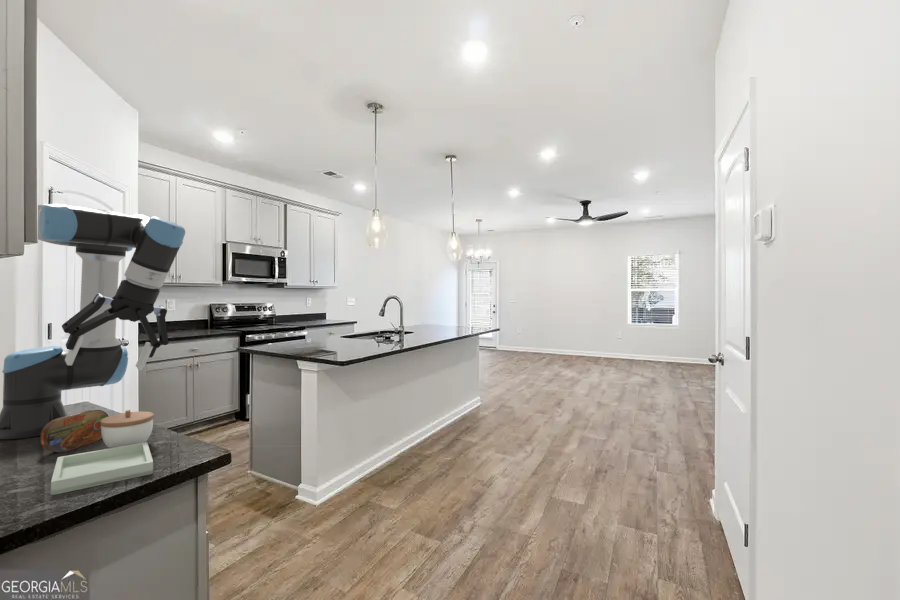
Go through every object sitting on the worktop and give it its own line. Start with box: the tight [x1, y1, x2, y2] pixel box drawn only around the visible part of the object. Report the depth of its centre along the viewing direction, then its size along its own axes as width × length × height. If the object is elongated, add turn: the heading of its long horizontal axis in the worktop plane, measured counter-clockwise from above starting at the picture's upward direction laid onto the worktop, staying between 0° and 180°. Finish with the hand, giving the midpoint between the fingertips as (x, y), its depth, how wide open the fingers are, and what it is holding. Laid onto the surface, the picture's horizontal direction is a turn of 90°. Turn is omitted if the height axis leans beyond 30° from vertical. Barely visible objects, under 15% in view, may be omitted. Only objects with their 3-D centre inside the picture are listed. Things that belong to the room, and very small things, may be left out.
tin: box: [39, 409, 109, 453], centre depth 106 cm, size 15×3×8 cm, turn 168°
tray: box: [50, 441, 154, 496], centre depth 90 cm, size 16×16×3 cm
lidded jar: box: [100, 409, 155, 449], centre depth 105 cm, size 11×11×9 cm
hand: (105, 365), depth 96 cm, fingers open, 13 cm apart
